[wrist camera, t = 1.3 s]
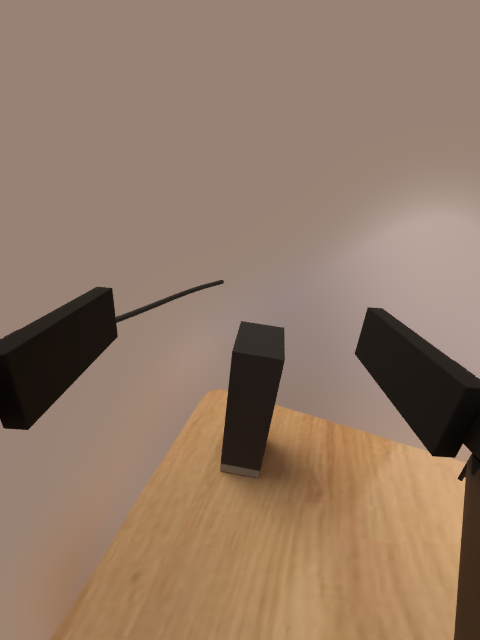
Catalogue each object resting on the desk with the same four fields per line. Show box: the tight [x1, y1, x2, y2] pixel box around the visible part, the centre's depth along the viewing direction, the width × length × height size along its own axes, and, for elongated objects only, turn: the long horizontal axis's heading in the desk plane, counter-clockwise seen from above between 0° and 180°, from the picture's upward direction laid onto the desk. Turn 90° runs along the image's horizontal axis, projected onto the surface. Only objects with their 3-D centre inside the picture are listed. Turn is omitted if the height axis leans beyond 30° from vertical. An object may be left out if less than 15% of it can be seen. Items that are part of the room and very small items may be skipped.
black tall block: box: [220, 321, 285, 478], centre depth 26 cm, size 5×4×15 cm
